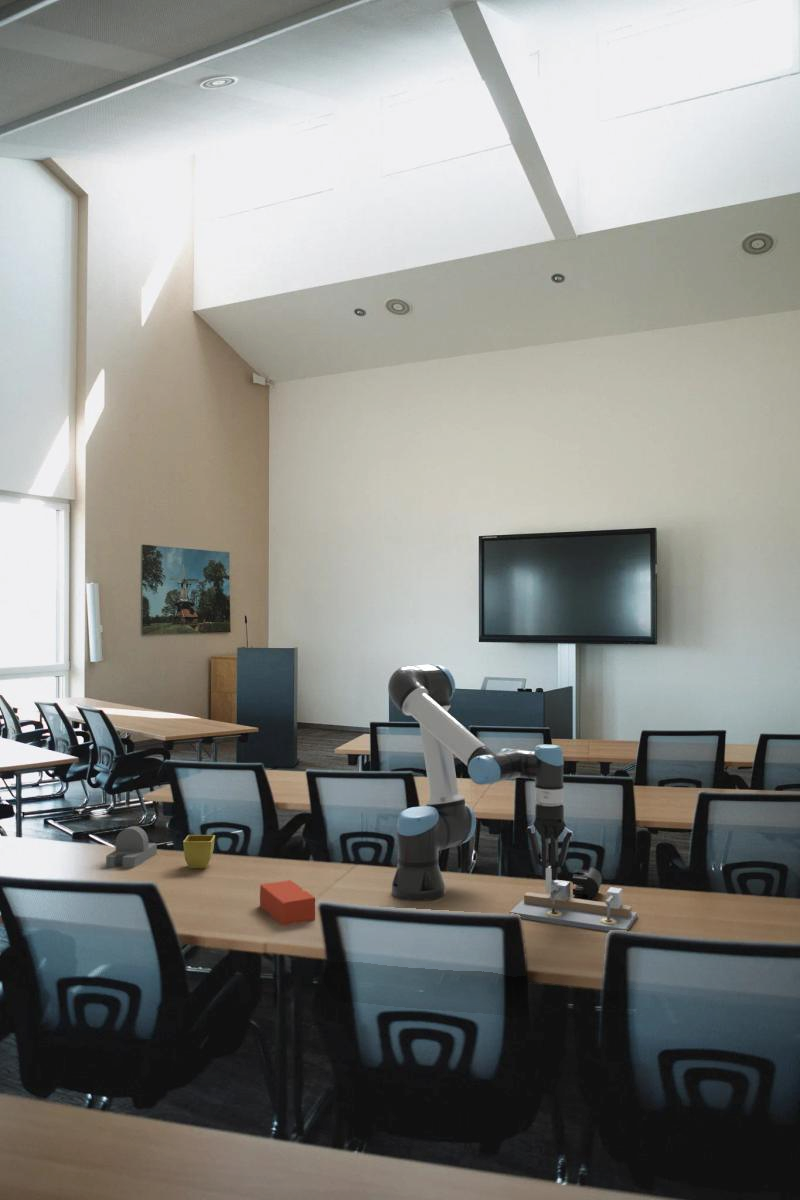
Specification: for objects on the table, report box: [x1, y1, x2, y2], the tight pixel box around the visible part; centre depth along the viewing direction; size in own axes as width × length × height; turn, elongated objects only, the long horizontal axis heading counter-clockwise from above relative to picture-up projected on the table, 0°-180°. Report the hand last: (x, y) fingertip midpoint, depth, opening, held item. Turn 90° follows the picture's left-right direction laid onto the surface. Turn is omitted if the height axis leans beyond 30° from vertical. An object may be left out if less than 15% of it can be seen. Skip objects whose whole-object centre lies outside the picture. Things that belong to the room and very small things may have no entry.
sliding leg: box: [549, 879, 571, 912], centre depth 232 cm, size 4×10×6 cm, turn 154°
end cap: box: [572, 867, 603, 901], centre depth 247 cm, size 10×7×7 cm
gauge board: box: [509, 886, 638, 932], centre depth 230 cm, size 30×14×7 cm, turn 64°
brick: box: [259, 879, 316, 926], centre depth 234 cm, size 18×9×6 cm, turn 28°
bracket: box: [105, 825, 158, 869], centre depth 287 cm, size 10×18×11 cm, turn 171°
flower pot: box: [182, 834, 216, 869], centre depth 278 cm, size 9×9×9 cm
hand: (550, 891), depth 236 cm, fingers closed
